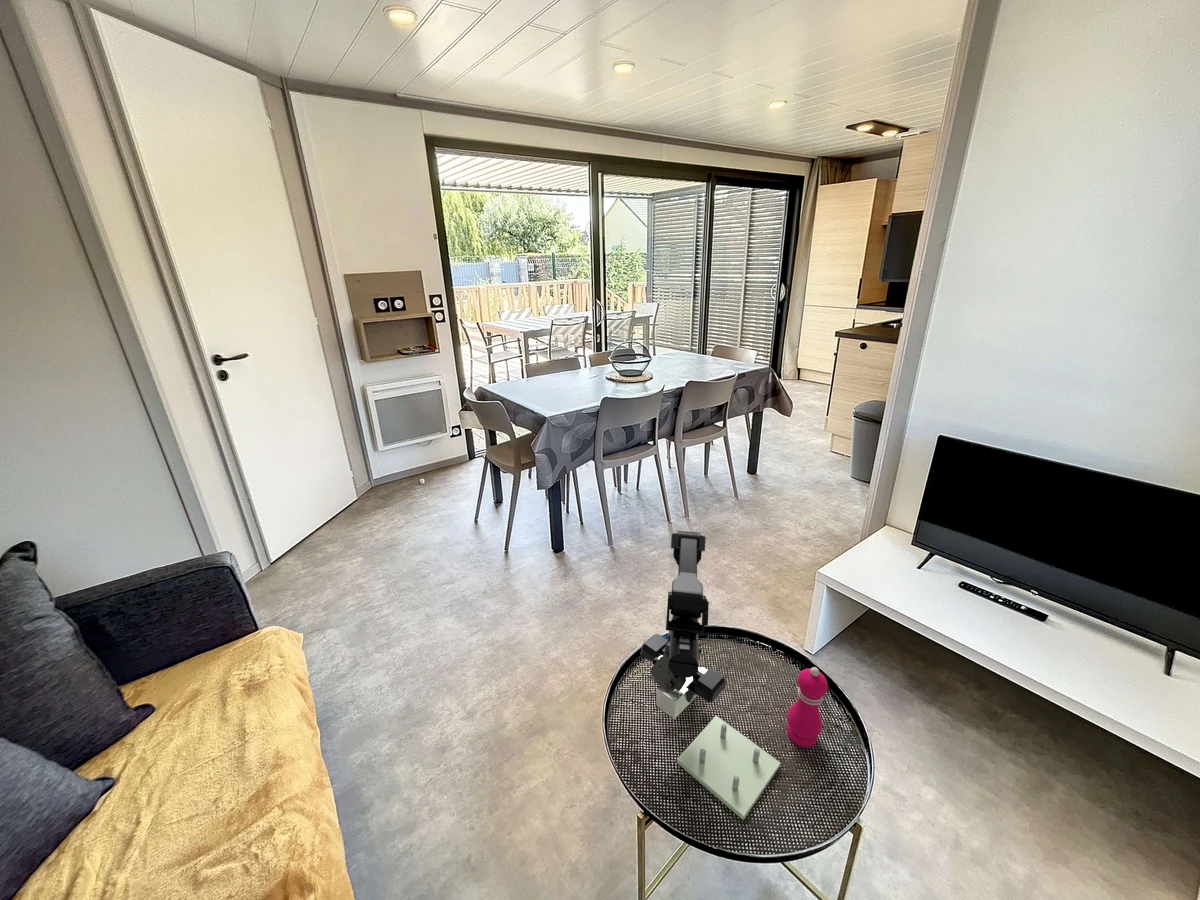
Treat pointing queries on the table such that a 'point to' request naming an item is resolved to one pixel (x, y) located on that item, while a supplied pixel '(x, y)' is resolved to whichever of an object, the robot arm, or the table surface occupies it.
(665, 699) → the block
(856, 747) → the table surface
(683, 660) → the robot arm
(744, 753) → the pale green peg board
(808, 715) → the pepper mill
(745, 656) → the table surface
